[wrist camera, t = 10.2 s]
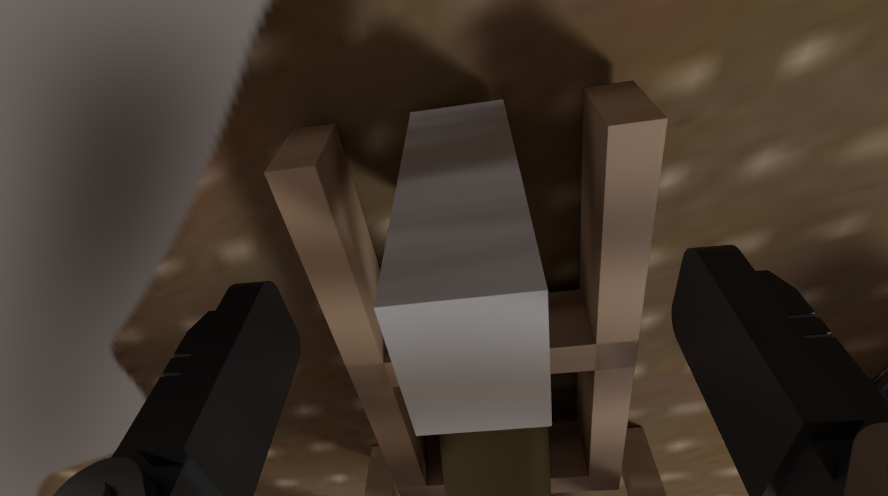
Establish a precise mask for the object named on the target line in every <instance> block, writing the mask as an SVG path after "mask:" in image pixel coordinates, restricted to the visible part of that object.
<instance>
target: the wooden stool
mask: <svg viewBox="0 0 888 496" xmlns="http://www.w3.org/2000/svg"><path fill="white" fill-rule="evenodd" d="M621 472H622V476H623V479H624V483H625V486H626V490H627V493H628V496H666V493H665V490H664V487H663V484H662V481H661V479H660V476H659V473H658V470H657V467H656V464H655V461H654V459H653V456H652V453H651V450H650V447H649V444H648V441H647V438H646V436H645V433H644V430H643V427H636V428H627V431H626V438H625V446H624V453H623V461H622V468H621ZM365 496H399V491H398V489H397V486H396V484H395V482H394V479H393V477H392V475H391V472H390V470H389V468H388V465H387V463H386V460H385V458H384V456H383V453H382V451H381V449H380V446H372V449H371V455H370V462H369V469H368V476H367V483H366V490H365Z"/></svg>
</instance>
